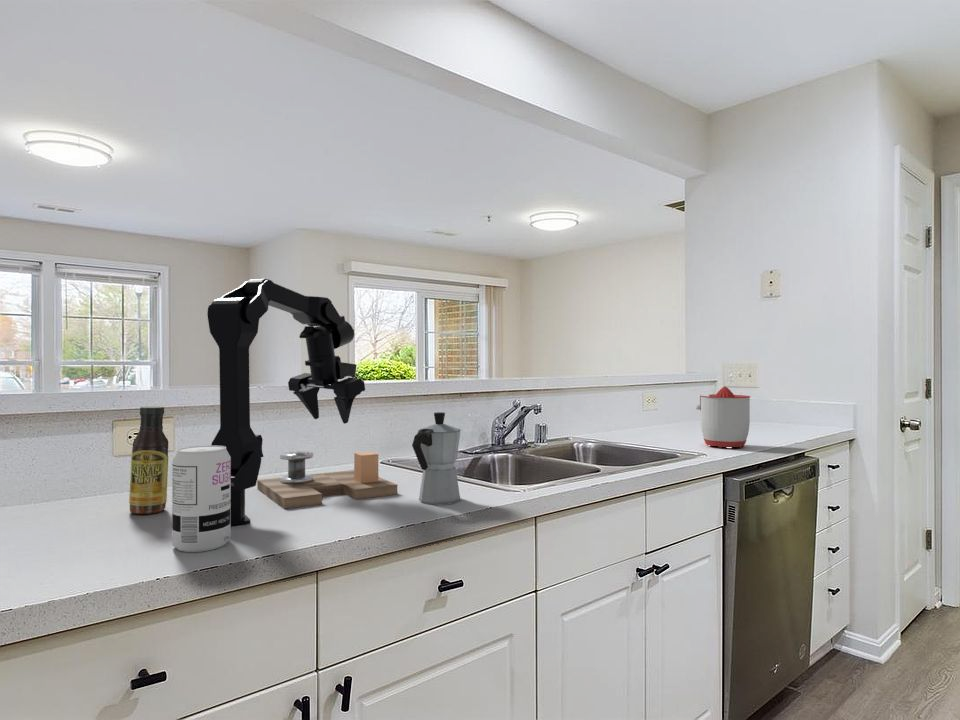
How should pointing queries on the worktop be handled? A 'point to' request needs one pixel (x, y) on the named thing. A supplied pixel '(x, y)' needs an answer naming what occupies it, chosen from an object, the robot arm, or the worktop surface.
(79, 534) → the worktop surface
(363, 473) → the block
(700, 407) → the citrus juicer
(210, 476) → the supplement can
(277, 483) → the board
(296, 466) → the bobbin
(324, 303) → the robot arm
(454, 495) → the coffee maker
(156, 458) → the sauce bottle
